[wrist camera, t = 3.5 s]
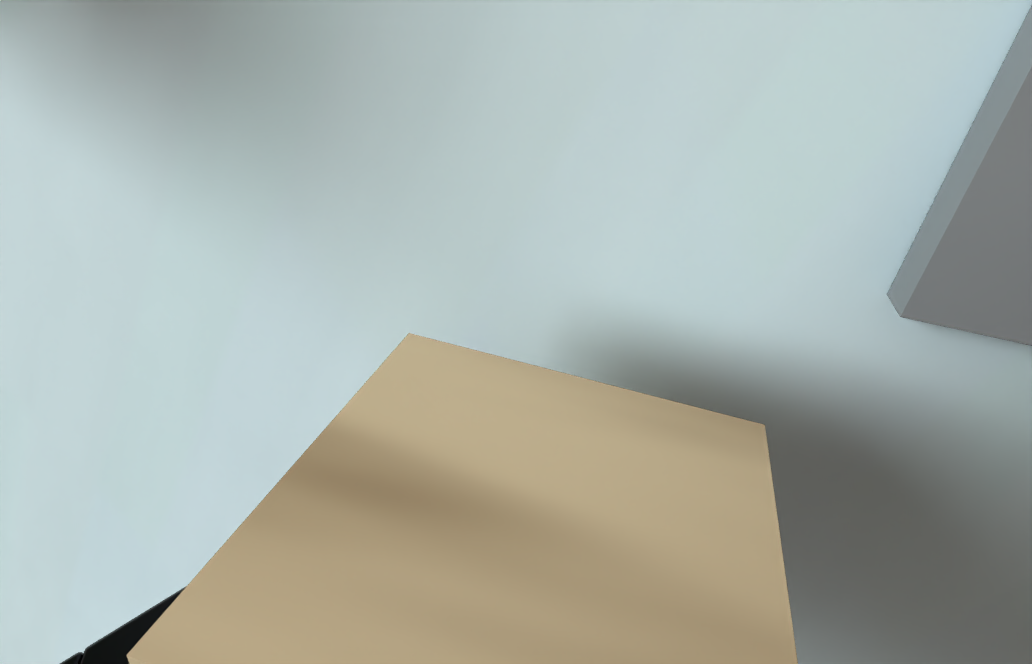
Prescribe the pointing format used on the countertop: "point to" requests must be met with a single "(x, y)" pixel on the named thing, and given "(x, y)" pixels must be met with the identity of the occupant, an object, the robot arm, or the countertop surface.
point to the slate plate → (981, 220)
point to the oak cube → (499, 532)
